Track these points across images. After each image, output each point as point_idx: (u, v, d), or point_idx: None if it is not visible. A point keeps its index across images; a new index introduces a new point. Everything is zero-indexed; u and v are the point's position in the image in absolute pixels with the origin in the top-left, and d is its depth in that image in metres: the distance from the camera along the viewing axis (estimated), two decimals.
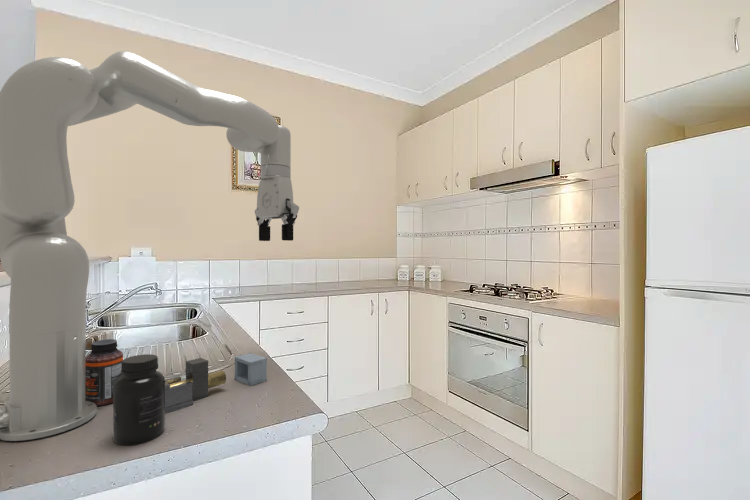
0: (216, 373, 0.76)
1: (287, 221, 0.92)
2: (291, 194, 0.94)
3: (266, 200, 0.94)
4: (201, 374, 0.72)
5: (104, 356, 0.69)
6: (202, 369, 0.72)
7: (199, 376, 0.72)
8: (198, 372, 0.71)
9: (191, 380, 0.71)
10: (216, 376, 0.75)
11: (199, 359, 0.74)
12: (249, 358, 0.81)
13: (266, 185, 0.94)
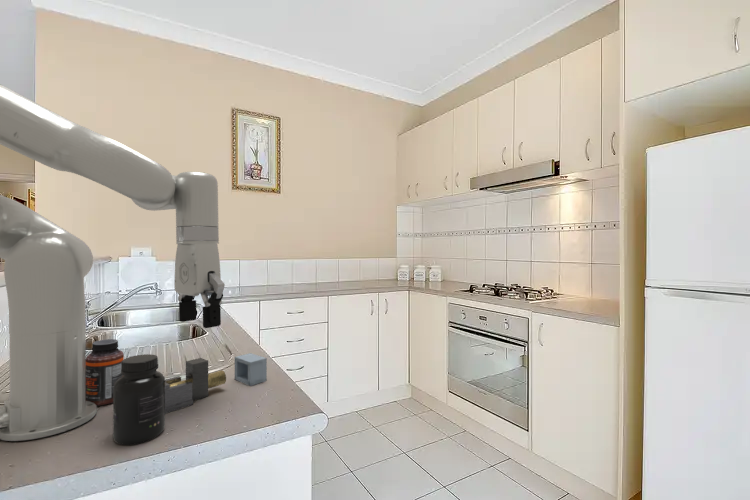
0: (216, 373, 0.76)
1: (209, 303, 0.68)
2: (217, 264, 0.71)
3: (183, 273, 0.71)
4: (201, 374, 0.72)
5: (105, 356, 0.69)
6: (202, 369, 0.72)
7: (199, 376, 0.72)
8: (198, 372, 0.71)
9: (191, 380, 0.71)
10: (216, 376, 0.75)
11: (199, 359, 0.74)
12: (249, 358, 0.81)
13: (183, 252, 0.71)
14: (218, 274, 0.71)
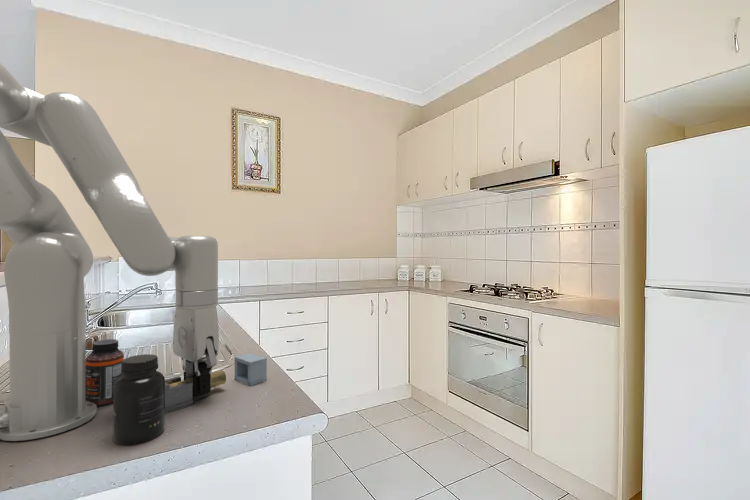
0: (216, 373, 0.76)
1: (199, 375, 0.70)
2: (215, 328, 0.71)
3: (181, 337, 0.71)
4: None
5: (105, 356, 0.69)
6: None
7: None
8: None
9: (191, 380, 0.71)
10: (216, 376, 0.75)
11: None
12: (249, 358, 0.81)
13: (182, 316, 0.71)
14: (216, 338, 0.71)
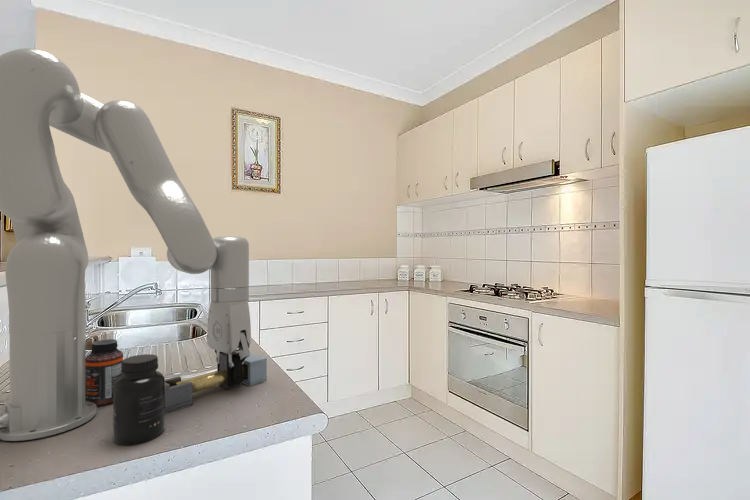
0: None
1: (233, 366, 0.75)
2: (248, 322, 0.76)
3: (216, 330, 0.76)
4: None
5: (105, 356, 0.69)
6: None
7: None
8: None
9: (225, 371, 0.76)
10: (246, 368, 0.80)
11: None
12: (249, 358, 0.81)
13: (217, 311, 0.76)
14: (249, 332, 0.76)
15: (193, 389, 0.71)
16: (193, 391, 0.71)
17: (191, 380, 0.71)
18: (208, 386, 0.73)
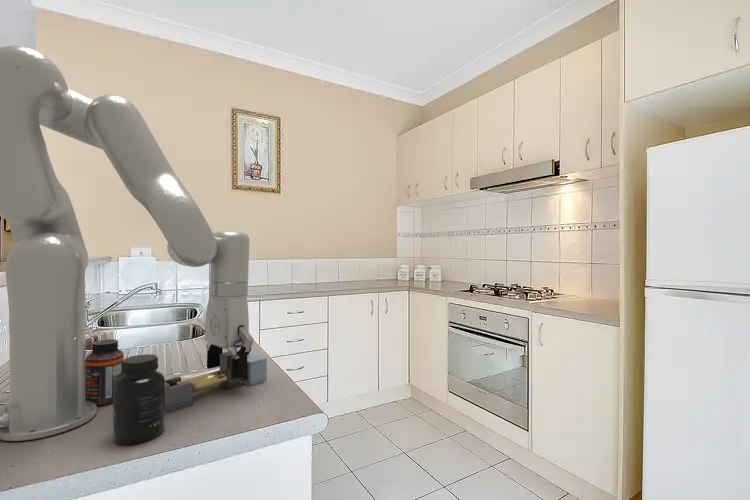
0: None
1: (238, 356, 0.73)
2: (246, 318, 0.76)
3: (214, 325, 0.76)
4: None
5: (105, 356, 0.69)
6: None
7: None
8: None
9: (225, 371, 0.76)
10: (247, 368, 0.80)
11: None
12: (249, 358, 0.81)
13: (215, 306, 0.76)
14: (247, 327, 0.76)
15: (194, 389, 0.71)
16: (193, 391, 0.71)
17: (191, 380, 0.71)
18: (208, 386, 0.73)
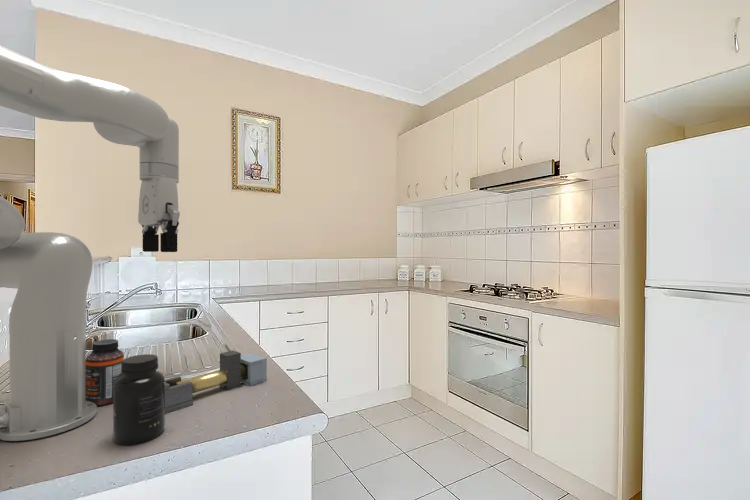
0: None
1: (166, 229, 0.78)
2: (175, 197, 0.80)
3: (144, 205, 0.80)
4: (234, 365, 0.77)
5: (105, 356, 0.69)
6: (235, 360, 0.78)
7: (233, 367, 0.77)
8: (232, 363, 0.77)
9: (225, 371, 0.76)
10: (247, 368, 0.80)
11: (232, 351, 0.79)
12: (249, 358, 0.81)
13: (145, 186, 0.80)
14: (176, 206, 0.80)
15: (194, 389, 0.71)
16: (193, 391, 0.71)
17: (191, 380, 0.71)
18: (208, 386, 0.73)
